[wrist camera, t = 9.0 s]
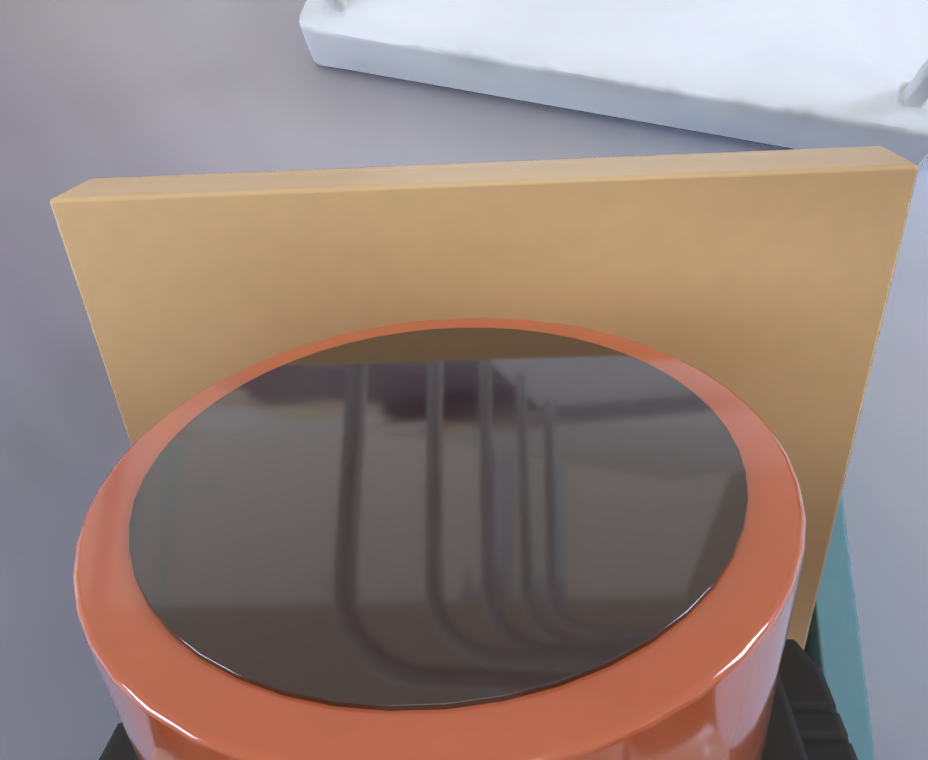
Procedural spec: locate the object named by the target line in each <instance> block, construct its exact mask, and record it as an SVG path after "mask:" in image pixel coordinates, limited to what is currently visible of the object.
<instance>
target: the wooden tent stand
mask: <svg viewBox="0 0 928 760" xmlns="http://www.w3.org/2000/svg"><path fill="white" fill-rule="evenodd" d="M917 172H918V166H917V165H916V164H914V163H912V162H910V161H909V160H907V159H905V158H903V157H901V156H899V155H897V154H896V153H894V152H892V151H890V150H888V149H886V148H884V147H882V146H864V147H840V148H816V149H792V150H768V151H744V152H720V153H696V154H672V155H649V156H625V157H601V158H577V159H553V160H529V161H505V162H481V163H457V164H433V165H409V166H385V167H362V168H338V169H314V170H290V171H266V172H242V173H218V174H194V175H170V176H146V177H122V178H98V179H90V180H88V181H86V182H84V183H82V184H80V185H78V186H76V187H74V188H72V189H70V190H68V191H66V192H64V193H62V194H60V195H58V196H56V197H54V198H52V199H51V200H50V204H51V207H52V210H53V213H54V216H55V219H56V222H57V225H58V228H59V231H60V234H61V237H62V240H63V243H64V246H65V249H66V252H67V255H68V258H69V261H70V264H71V267H72V270H73V273H74V276H75V279H76V282H77V285H78V288H79V291H80V294H81V297H82V300H83V303H84V306H85V309H86V312H87V315H88V318H89V321H90V324H91V327H92V330H93V333H94V336H95V339H96V342H97V345H98V348H99V351H100V354H101V357H102V360H103V363H104V366H105V369H106V372H107V375H108V378H109V381H110V384H111V387H112V390H113V393H114V396H115V399H116V401H117V404H118V407H119V410H120V413H121V416H122V419H123V422H124V425H125V428H126V431H127V434H128V437H129V440H130V443H131V446H133V445H134V443H135V442H136V441H137V440H138V439H139V438H140V437H141V436H142V435H143V434H145V433H146V432H147V431H148V430H149V429H150V428H152V427H153V426H154V425H155V424H156V423H157V422H158V421H160V420H161V419H162V418H163V417H164V416H166V415H167V414H168V413H170V412H171V411H173V410H174V409H175V408H177V407H178V406H180V405H181V404H182V403H184V402H185V401H187V400H188V399H189V398H191V397H193V396H194V395H196V394H198V393H199V392H201V391H203V390H204V389H206V388H208V387H209V386H211V385H213V384H214V383H216V382H218V381H220V380H222V379H224V378H226V377H228V376H230V375H232V374H234V373H236V372H238V371H240V370H242V369H244V368H246V367H248V366H250V365H253V364H255V363H257V362H260V361H262V360H265V359H267V358H269V357H272V356H274V355H277V354H279V353H282V352H285V351H288V350H291V349H294V348H297V347H300V346H303V345H305V344H308V343H312V342H316V341H319V340H323V339H326V338H330V337H334V336H337V335H341V334H346V333H350V332H355V331H360V330H364V329H369V328H374V327H380V326H387V325H393V324H399V323H407V322H416V321H426V320H437V319H456V318H503V319H521V320H533V321H541V322H550V323H558V324H564V325H570V326H575V327H581V328H586V329H591V330H595V331H599V332H603V333H607V334H611V335H615V336H619V337H622V338H625V339H628V340H632V341H635V342H638V343H641V344H644V345H647V346H650V347H652V348H654V349H657V350H659V351H662V352H664V353H666V354H669V355H671V356H674V357H676V358H678V359H680V360H682V361H684V362H686V363H688V364H690V365H691V366H693V367H695V368H697V369H699V370H701V371H703V372H705V373H706V374H708V375H709V376H711V377H712V378H714V379H715V380H717V381H718V382H720V383H721V384H723V385H724V386H726V387H727V388H729V389H730V390H731V391H732V392H733V393H735V394H736V395H737V396H738V397H739V398H741V399H742V400H743V401H744V402H745V403H746V404H748V405H749V406H750V407H751V408H752V409H753V410H754V411H755V412H756V413H757V414H758V416H759V417H760V418H761V419H762V420H763V421H764V422H765V423H766V424H767V426H768V427H769V428H770V429H771V430H772V432H773V433H774V435H775V436H776V438H777V439H778V441H779V443H780V444H781V446H782V447H783V449H784V450H785V452H786V454H787V455H788V457H789V460H790V462H791V465H792V467H793V470H794V472H795V475H796V477H797V480H798V482H799V485H800V488H801V493H802V499H803V505H804V510H805V516H806V531H805V551H804V557H803V562H802V567H801V572H800V577H799V582H798V587H797V591H796V596H795V601H794V606H793V611H792V616H791V620H790V625H789V630H788V635H787V639H794V640H795V641H796V642H797V643H798V644H799V645H800V647H801V648H802V649H803V650H804V648H805V644H806V640H807V635H808V631H809V627H810V623H811V619H812V614H813V610H814V606H815V602H816V598H817V593H818V589H819V585H820V581H821V577H822V572H823V568H824V564H825V560H826V555H827V551H828V547H829V543H830V539H831V534H832V530H833V526H834V522H835V518H836V513H837V509H838V505H839V501H840V497H841V492H842V488H843V484H844V480H845V476H846V471H847V467H848V463H849V459H850V454H851V450H852V446H853V442H854V438H855V433H856V429H857V425H858V421H859V417H860V412H861V408H862V404H863V400H864V396H865V391H866V387H867V383H868V379H869V374H870V370H871V366H872V362H873V358H874V353H875V349H876V345H877V341H878V337H879V332H880V328H881V324H882V320H883V316H884V311H885V307H886V303H887V299H888V294H889V290H890V286H891V282H892V278H893V273H894V269H895V265H896V261H897V257H898V252H899V248H900V244H901V240H902V236H903V231H904V227H905V223H906V219H907V214H908V210H909V206H910V202H911V198H912V193H913V189H914V185H915V181H916V177H917Z"/></svg>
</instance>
